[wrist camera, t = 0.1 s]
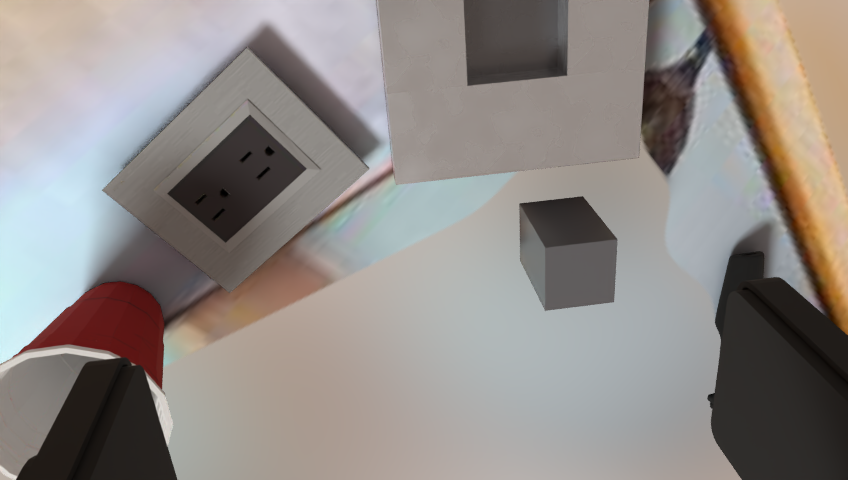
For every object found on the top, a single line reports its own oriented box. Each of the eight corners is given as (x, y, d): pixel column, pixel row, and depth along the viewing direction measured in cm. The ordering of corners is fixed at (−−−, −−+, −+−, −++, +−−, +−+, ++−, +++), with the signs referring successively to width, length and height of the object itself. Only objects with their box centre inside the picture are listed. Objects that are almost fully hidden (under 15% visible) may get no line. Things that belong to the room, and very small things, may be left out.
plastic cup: (168, 398, 55) (128, 522, 44) (22, 345, 52) (-60, 466, 41) (228, 288, 51) (201, 394, 41) (76, 223, 48) (2, 320, 37)
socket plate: (363, -131, 41) (365, -132, 38) (638, -153, 42) (663, -156, 39) (392, 168, 49) (396, 188, 46) (622, 143, 50) (642, 160, 47)
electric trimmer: (762, 234, 55) (786, 253, 52) (745, 396, 62) (765, 420, 59) (715, 241, 55) (735, 260, 52) (703, 403, 62) (720, 427, 59)
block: (519, 203, 51) (545, 247, 45) (582, 196, 51) (617, 239, 45) (520, 260, 53) (545, 310, 47) (581, 253, 53) (614, 302, 47)
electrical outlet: (250, 40, 45) (246, 48, 42) (368, 158, 49) (369, 170, 47) (111, 178, 47) (100, 192, 45) (233, 278, 52) (229, 295, 49)
